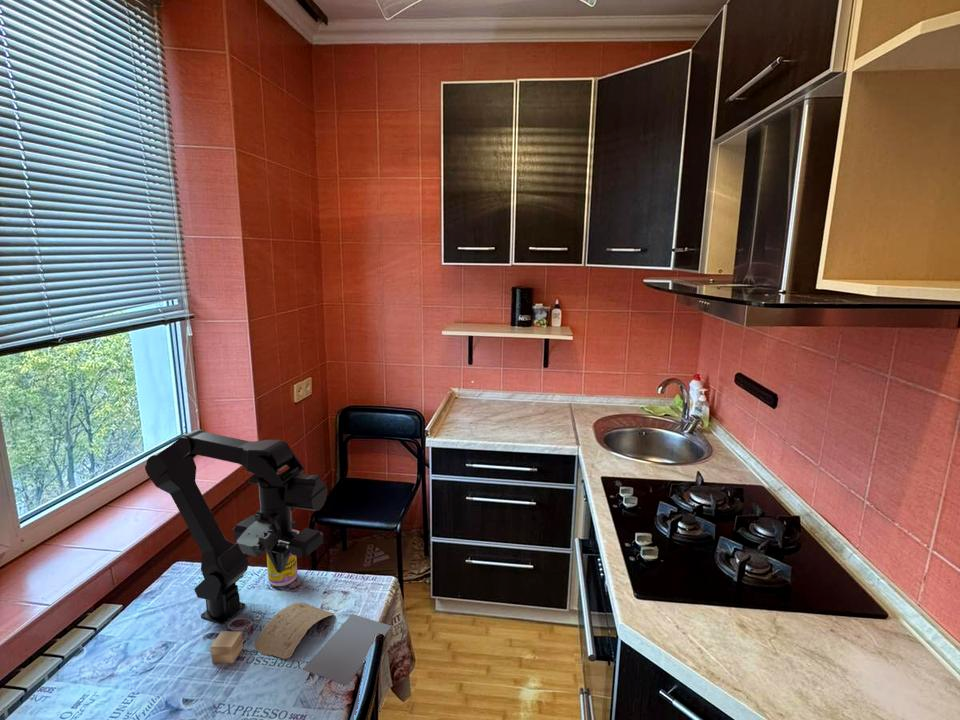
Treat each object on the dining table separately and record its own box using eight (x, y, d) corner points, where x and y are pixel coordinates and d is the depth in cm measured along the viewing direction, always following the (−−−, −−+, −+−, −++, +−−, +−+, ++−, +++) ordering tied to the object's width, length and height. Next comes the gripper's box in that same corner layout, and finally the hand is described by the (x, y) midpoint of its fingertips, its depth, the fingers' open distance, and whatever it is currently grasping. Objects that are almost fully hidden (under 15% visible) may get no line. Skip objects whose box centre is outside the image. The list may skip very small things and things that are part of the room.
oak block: (212, 664, 94) (210, 646, 94) (223, 648, 98) (221, 631, 97) (233, 665, 94) (231, 647, 94) (243, 648, 98) (241, 631, 97)
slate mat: (302, 670, 93) (302, 669, 93) (352, 615, 108) (352, 613, 108) (347, 686, 90) (346, 685, 90) (391, 627, 104) (391, 625, 104)
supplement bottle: (283, 590, 115) (279, 541, 113) (262, 583, 118) (258, 534, 116) (303, 574, 122) (300, 527, 119) (283, 567, 124) (280, 521, 122)
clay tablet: (289, 662, 95) (288, 650, 94) (250, 647, 98) (249, 635, 98) (337, 614, 108) (336, 603, 107) (301, 602, 111) (300, 592, 111)
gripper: (207, 513, 95) (214, 584, 98) (283, 532, 89) (289, 607, 92) (251, 488, 105) (257, 554, 109) (323, 504, 99) (326, 573, 102)
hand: (280, 571), depth 103 cm, fingers closed
